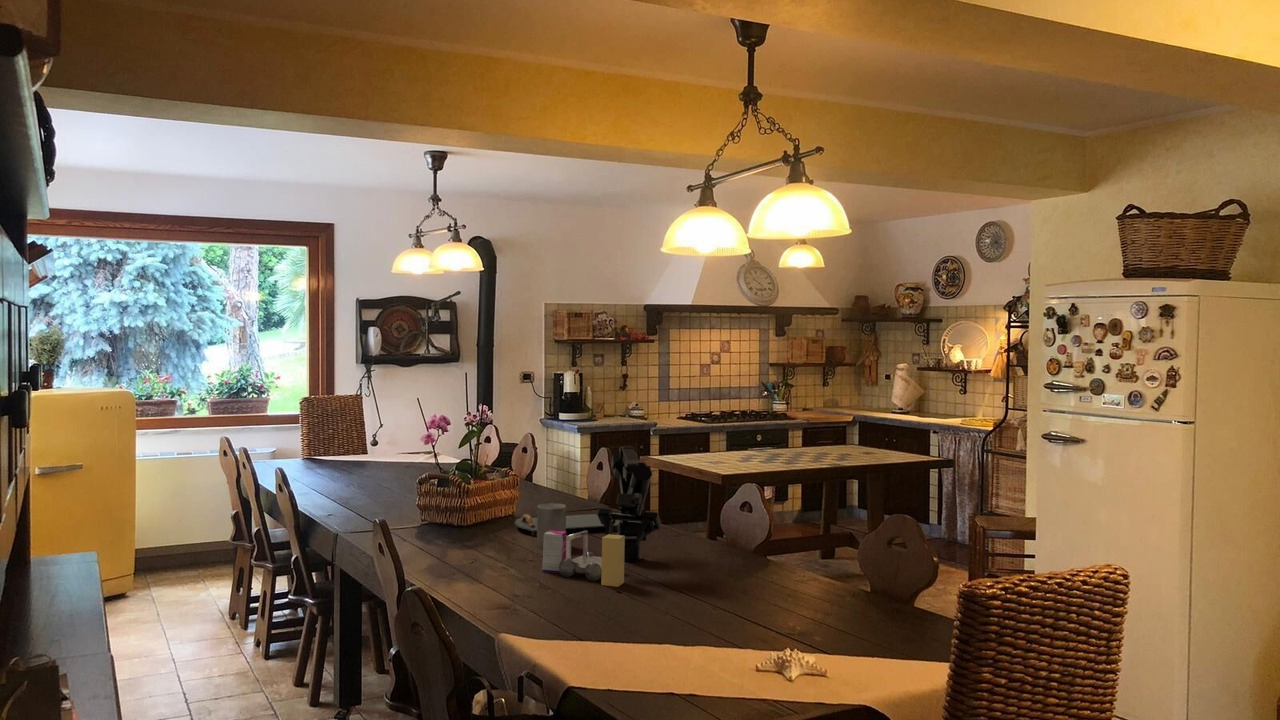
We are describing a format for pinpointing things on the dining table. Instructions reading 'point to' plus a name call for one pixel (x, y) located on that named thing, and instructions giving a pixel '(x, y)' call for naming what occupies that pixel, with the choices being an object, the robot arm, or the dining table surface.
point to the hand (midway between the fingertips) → (621, 542)
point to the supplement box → (554, 550)
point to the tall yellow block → (613, 560)
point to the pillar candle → (550, 520)
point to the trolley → (581, 559)
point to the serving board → (571, 522)
